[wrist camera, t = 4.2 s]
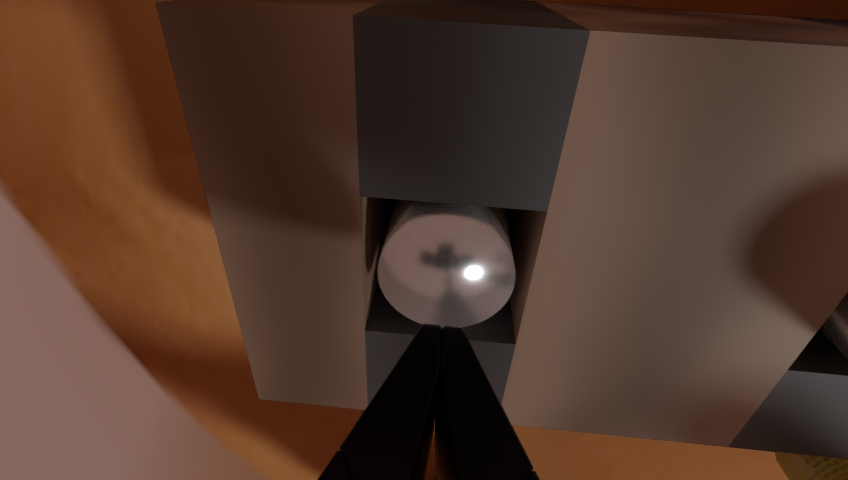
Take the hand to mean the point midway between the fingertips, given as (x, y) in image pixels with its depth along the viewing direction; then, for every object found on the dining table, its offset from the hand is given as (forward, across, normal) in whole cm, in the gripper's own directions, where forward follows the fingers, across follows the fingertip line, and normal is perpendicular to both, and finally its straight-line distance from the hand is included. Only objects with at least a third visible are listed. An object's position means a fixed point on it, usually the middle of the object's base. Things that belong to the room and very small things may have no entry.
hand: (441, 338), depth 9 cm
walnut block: (+9, -6, 0) cm, 11 cm away
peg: (+9, 0, 0) cm, 9 cm away
